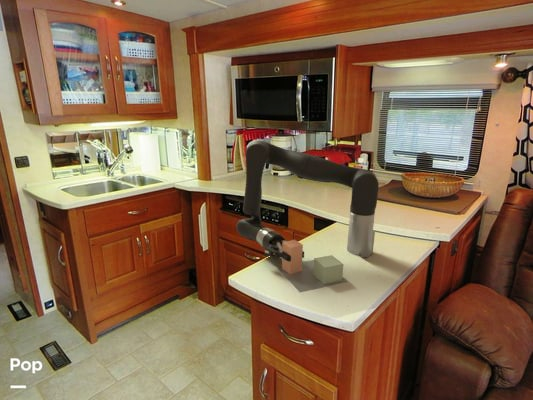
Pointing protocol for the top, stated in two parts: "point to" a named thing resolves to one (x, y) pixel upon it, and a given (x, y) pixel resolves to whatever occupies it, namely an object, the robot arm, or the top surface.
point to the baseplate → (307, 278)
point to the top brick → (292, 256)
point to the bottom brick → (328, 269)
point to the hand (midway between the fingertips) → (296, 257)
